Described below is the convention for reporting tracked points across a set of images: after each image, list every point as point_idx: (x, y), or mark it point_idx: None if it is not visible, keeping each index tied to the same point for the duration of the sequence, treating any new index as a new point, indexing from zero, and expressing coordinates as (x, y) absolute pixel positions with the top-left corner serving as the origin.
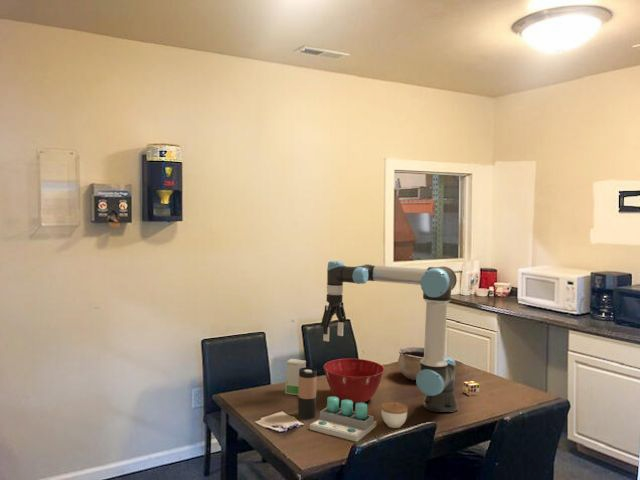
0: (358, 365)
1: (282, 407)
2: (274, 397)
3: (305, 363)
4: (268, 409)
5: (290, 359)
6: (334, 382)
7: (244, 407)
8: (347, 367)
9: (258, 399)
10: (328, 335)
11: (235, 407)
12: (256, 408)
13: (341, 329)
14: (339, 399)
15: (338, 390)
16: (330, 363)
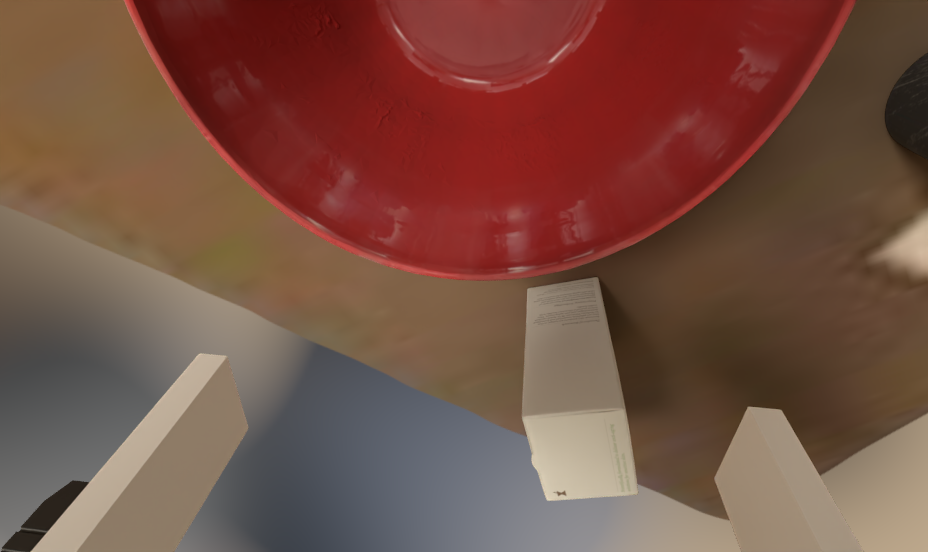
0: (207, 41)
1: (820, 277)
2: (679, 364)
3: (537, 403)
4: (871, 319)
5: (567, 495)
6: (742, 49)
7: (867, 408)
8: (289, 135)
9: (735, 405)
10: (846, 522)
11: (877, 434)
12: (869, 366)
13: (155, 478)
14: (613, 19)
15: (706, 3)
16: (428, 257)
